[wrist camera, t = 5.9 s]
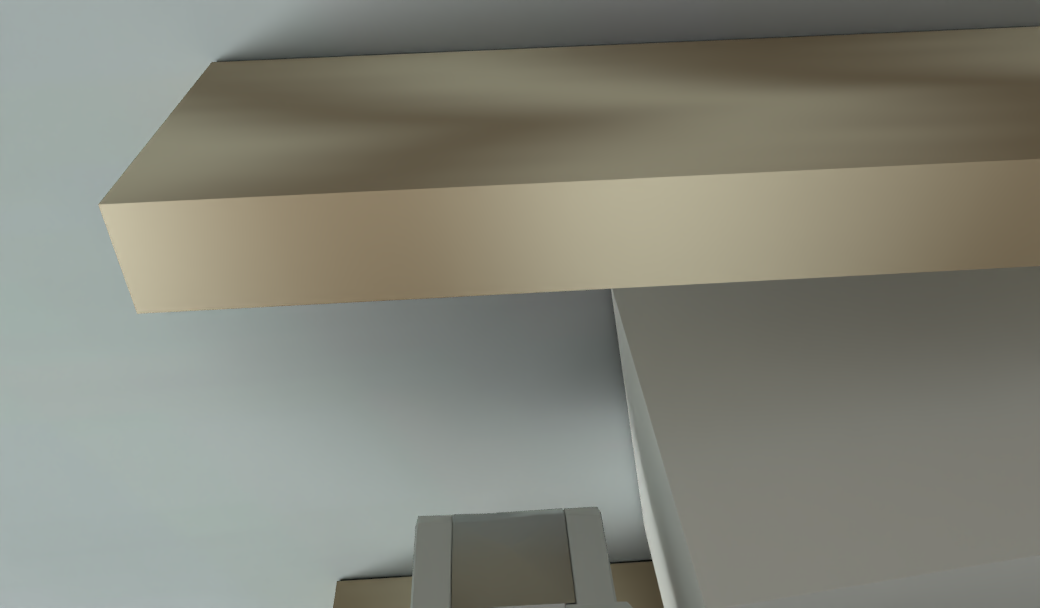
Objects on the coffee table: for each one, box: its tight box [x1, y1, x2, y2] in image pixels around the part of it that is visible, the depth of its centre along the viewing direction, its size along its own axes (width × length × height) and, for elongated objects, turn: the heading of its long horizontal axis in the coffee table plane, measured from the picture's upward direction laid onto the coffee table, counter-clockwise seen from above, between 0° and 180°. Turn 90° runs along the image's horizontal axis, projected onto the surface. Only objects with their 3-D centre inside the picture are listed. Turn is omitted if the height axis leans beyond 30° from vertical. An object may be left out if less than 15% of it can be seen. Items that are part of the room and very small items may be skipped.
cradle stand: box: [98, 26, 1040, 608], centre depth 13 cm, size 19×12×4 cm, turn 91°
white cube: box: [611, 266, 1040, 608], centre depth 12 cm, size 6×6×6 cm
